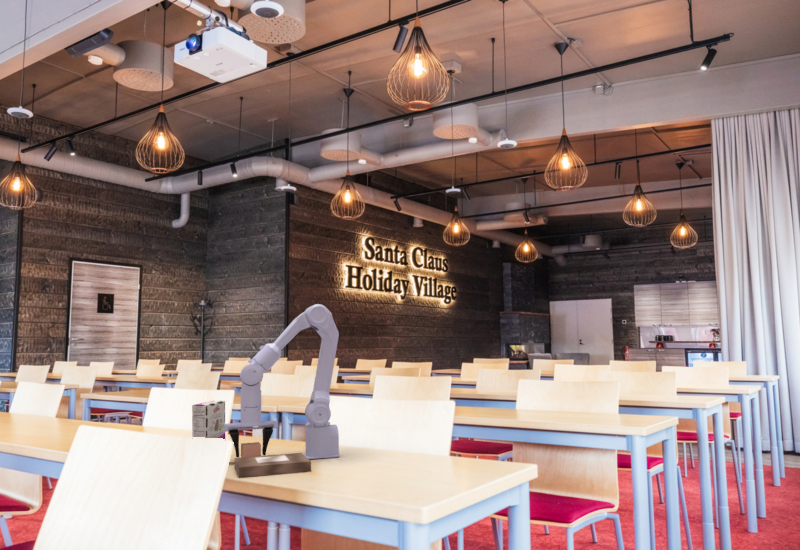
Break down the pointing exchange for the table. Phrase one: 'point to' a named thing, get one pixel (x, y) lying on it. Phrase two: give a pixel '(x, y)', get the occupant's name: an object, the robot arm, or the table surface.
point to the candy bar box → (209, 419)
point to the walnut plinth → (272, 465)
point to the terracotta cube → (250, 449)
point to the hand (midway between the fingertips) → (250, 455)
